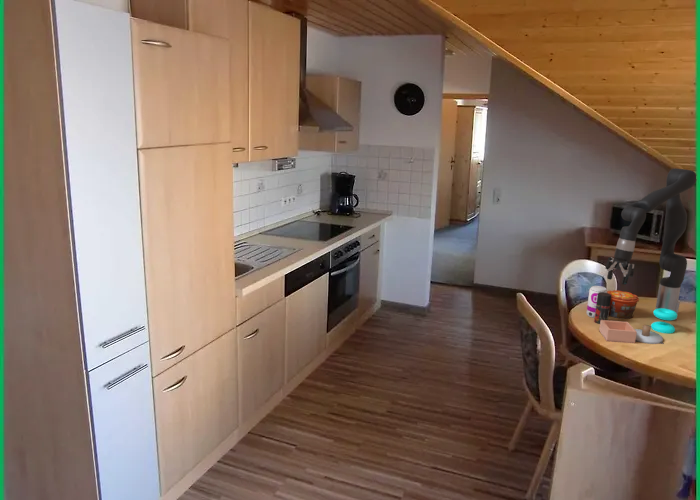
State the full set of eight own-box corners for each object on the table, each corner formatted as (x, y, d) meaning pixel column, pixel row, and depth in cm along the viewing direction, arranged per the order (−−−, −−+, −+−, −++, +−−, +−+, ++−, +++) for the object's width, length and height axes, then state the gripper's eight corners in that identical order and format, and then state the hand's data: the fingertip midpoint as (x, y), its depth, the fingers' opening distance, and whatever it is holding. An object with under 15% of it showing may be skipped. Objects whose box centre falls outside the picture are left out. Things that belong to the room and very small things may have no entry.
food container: (642, 320, 275) (645, 300, 272) (609, 319, 275) (612, 299, 272) (627, 309, 290) (630, 290, 287) (596, 308, 290) (599, 289, 288)
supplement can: (602, 320, 274) (606, 291, 270) (584, 316, 278) (588, 288, 274) (604, 315, 281) (608, 287, 277) (587, 311, 285) (591, 284, 281)
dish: (625, 333, 257) (627, 321, 256) (634, 344, 246) (636, 331, 244) (598, 331, 259) (600, 320, 257) (606, 342, 247) (608, 329, 246)
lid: (655, 332, 258) (657, 321, 257) (667, 345, 245) (669, 333, 243) (623, 330, 260) (625, 319, 259) (634, 342, 247) (636, 330, 245)
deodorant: (608, 326, 266) (612, 296, 263) (595, 324, 268) (599, 295, 264) (605, 321, 272) (609, 292, 268) (592, 320, 273) (596, 291, 270)
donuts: (657, 305, 267) (680, 311, 260) (653, 325, 269) (676, 330, 262) (651, 310, 259) (674, 316, 253) (647, 330, 262) (671, 336, 255)
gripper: (643, 253, 253) (634, 286, 256) (618, 245, 266) (610, 277, 269) (631, 252, 250) (622, 285, 253) (607, 244, 263) (598, 277, 266)
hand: (616, 281), depth 261 cm, fingers open, 8 cm apart
